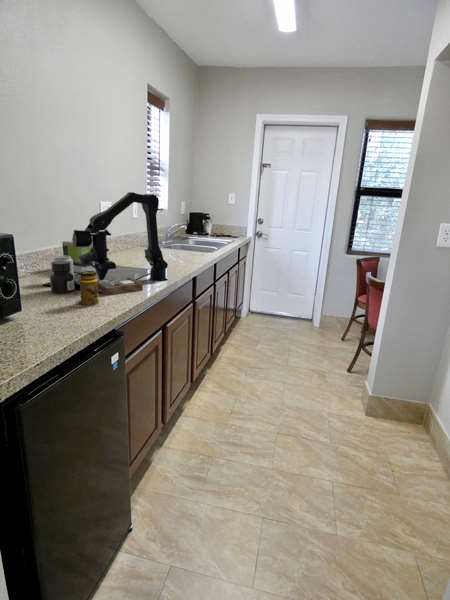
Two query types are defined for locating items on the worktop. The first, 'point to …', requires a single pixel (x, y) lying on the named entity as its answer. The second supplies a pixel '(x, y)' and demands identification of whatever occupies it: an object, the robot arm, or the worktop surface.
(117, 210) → the robot arm
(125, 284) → the tile
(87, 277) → the condiment
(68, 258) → the can
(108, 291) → the corral
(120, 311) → the worktop surface
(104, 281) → the tile
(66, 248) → the tea box
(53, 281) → the ink bottle
